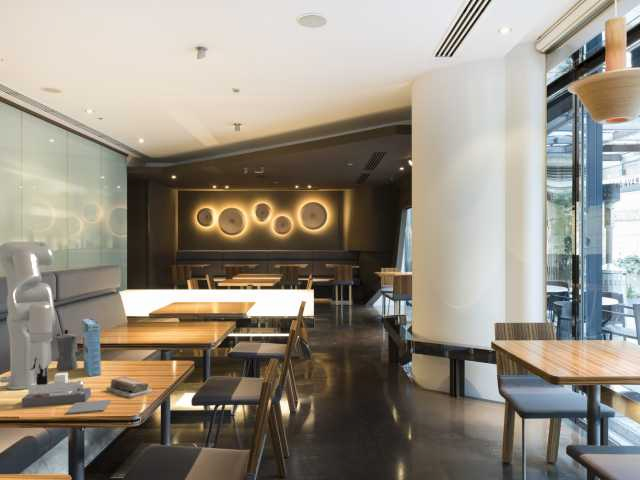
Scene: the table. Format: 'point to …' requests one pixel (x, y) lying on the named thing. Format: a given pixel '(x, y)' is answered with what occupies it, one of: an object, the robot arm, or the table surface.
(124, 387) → the packaged product
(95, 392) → the table surface
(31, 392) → the grey long bar
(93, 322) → the gum box
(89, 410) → the mat
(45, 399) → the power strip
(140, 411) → the table surface
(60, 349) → the coffeepot
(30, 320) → the robot arm
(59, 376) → the plug
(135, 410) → the table surface
